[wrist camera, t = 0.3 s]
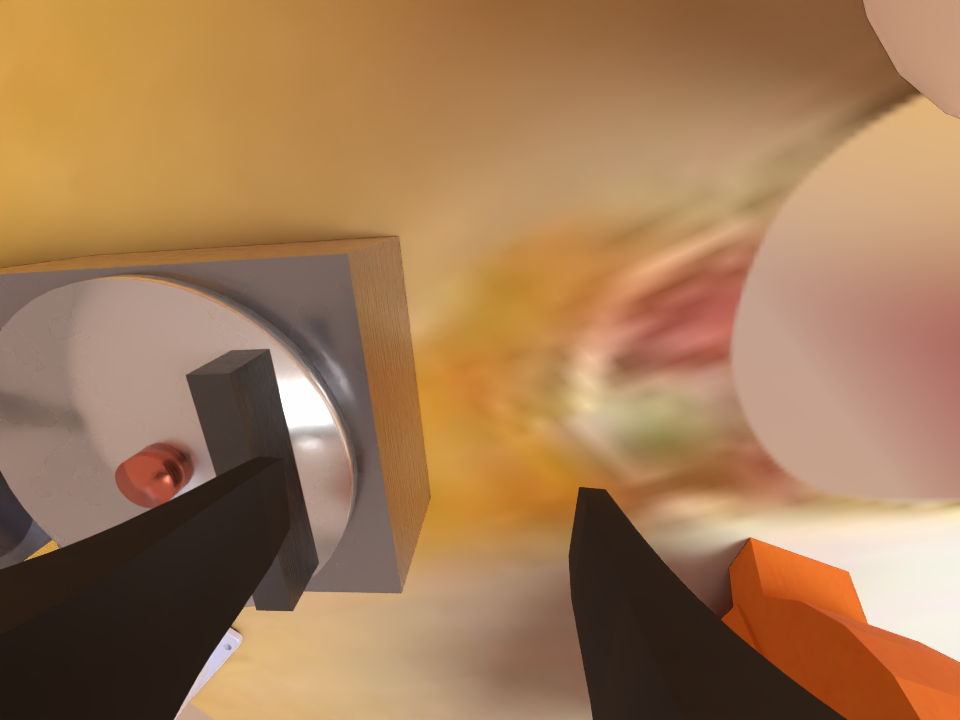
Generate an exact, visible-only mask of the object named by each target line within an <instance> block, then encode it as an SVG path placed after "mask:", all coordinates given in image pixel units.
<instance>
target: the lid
mask: <svg viewBox="0 0 960 720" xmlns="http://www.w3.org/2000/svg"><path fill="white" fill-rule="evenodd" d="M259 456H262V457H272V458H283V460H284V470H285V479H286V488H287V497H288V507H289V516H290V525H291V527H290V529H289V531H288V533H287V535H286V537H285V540H284V542H283V544H282V546H281V548H280V550H279V552H278V554H277V556H276V557H275V559H274V561H273V563H272V565H271V567H270V568H269V570H268V571H267V573H266V574H265V576H264V577H263V579H262V580H261V582H260V584H259V585H258V587H257V588H256V590H255V591H254V593H253V594H252V596H251V597H250V599H249V600H248V601H247V603H246V604H245V606H244V607H250V606H256V610H266V611H293V610H294V608H295V606H296V604H297V603H298V601H299V599H300V597H301V595H302V593H303V592H304V590H305V588H306V586H307V584H308V583H309V581H310V579H311V578H312V577H314V576H315V575H316V574H317V573H318V572H319V571H320V570H321V568H322V567H323V566H324V565H325V564H326V563H327V561H328V560H329V559H330V557H331V556H332V554H333V552H334V550H335V549H336V547H337V545H338V544H339V542H340V540H341V538H342V536H343V534H344V532H345V530H346V528H347V526H348V523H349V521H350V518H351V516H352V513H353V510H354V505H355V500H356V495H357V480H358V470H357V460H356V452H355V448H354V444H353V440H352V436H351V432H350V429H349V426H348V424H347V421H346V419H345V416H344V414H343V411H342V409H341V407H340V405H339V403H338V401H337V399H336V398H335V396H334V394H333V392H332V390H331V389H330V387H329V385H328V384H327V382H326V381H325V380H324V378H323V377H322V376H321V374H320V373H319V371H318V370H317V369H316V367H315V366H314V365H313V363H312V362H311V361H310V360H309V359H308V358H307V357H306V356H305V355H304V353H303V352H302V351H301V350H300V349H299V348H298V347H297V346H296V345H295V344H294V343H293V342H292V341H291V340H290V339H288V338H287V337H286V336H285V335H284V334H283V333H282V332H281V331H279V330H278V329H277V328H276V327H275V326H273V325H272V324H271V323H269V322H268V321H266V320H265V319H264V318H262V317H261V316H259V315H258V314H256V313H255V312H254V311H252V310H250V309H249V308H247V307H245V306H243V305H241V304H240V303H238V302H236V301H234V300H232V299H231V298H229V297H227V296H224V295H222V294H219V293H217V292H215V291H212V290H210V289H207V288H205V287H203V286H199V285H196V284H192V283H189V282H185V281H182V280H178V279H173V278H167V277H160V276H153V275H117V276H109V277H102V278H96V279H91V280H86V281H81V282H76V283H73V284H69V285H66V286H63V287H59V288H56V289H53V290H51V291H49V292H47V293H45V294H43V295H41V296H39V297H37V298H35V299H33V300H32V301H31V302H29V303H28V304H27V305H25V306H24V307H23V308H21V309H20V310H19V311H17V312H16V313H15V314H14V315H13V317H12V318H11V319H10V320H9V321H8V322H7V323H6V324H5V326H4V327H3V328H2V330H1V331H0V471H1V473H2V474H3V476H4V478H5V480H6V482H7V483H8V485H9V487H10V489H11V490H12V492H13V493H14V495H15V496H16V497H17V499H18V500H19V502H20V503H21V505H22V506H23V507H24V509H25V510H26V511H27V512H28V513H29V515H30V516H31V517H32V518H33V519H34V521H35V522H36V523H37V524H38V525H39V526H40V527H41V528H42V529H43V530H44V531H45V532H46V533H47V534H48V535H49V536H50V537H51V538H52V539H53V540H54V541H55V542H56V543H57V544H59V545H60V546H61V547H62V548H63V547H65V546H68V545H70V544H73V543H75V542H78V541H80V540H83V539H85V538H88V537H90V536H93V535H95V534H98V533H100V532H102V531H105V530H107V529H109V528H112V527H114V526H116V525H118V524H121V523H123V522H125V521H127V520H129V519H131V518H134V517H136V516H138V515H140V514H142V513H144V512H146V511H148V510H151V509H153V508H155V507H157V506H159V505H161V504H163V503H165V502H167V501H170V500H172V499H174V498H176V497H178V496H180V495H182V494H184V493H186V492H187V491H189V490H191V489H193V488H195V487H197V486H199V485H201V484H203V483H205V482H207V481H209V480H211V479H213V478H215V477H217V476H219V475H221V474H223V473H225V472H227V471H229V470H231V469H233V468H235V467H237V466H239V465H241V464H243V463H245V462H247V461H249V460H252V459H254V458H257V457H259Z"/></svg>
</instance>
